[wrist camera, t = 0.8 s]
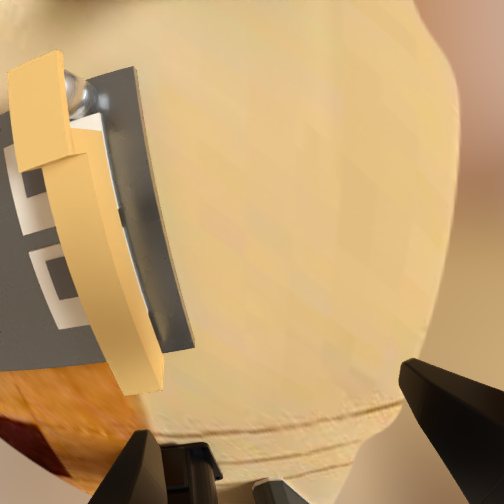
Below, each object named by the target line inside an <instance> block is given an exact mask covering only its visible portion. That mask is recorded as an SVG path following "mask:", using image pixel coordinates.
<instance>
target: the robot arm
mask: <svg viewBox="0 0 504 504" xmlns="http://www.w3.org/2000/svg"><path fill="white" fill-rule="evenodd" d="M399 386H400V389H401V391H402V393H403V394H404V396H405V398H406V400H407V402H408V404H409V406H410V408H411V410H412V412H413V414H414V416H415V418H416V420H417V422H418V424H419V425H420V427H421V428H422V430H423V431H424V433H425V434H426V436H427V437H428V439H429V440H430V442H431V443H432V445H433V446H434V448H435V450H436V451H437V453H438V454H439V456H440V457H441V459H442V460H443V462H444V464H445V465H446V467H447V468H448V470H449V471H450V473H451V474H452V476H453V478H454V479H455V481H456V483H457V484H458V486H459V487H460V489H461V491H462V492H463V494H464V495H465V497H466V499H467V500H468V502H469V504H504V391H501V390H499V389H496V388H493V387H490V386H488V385H485V384H482V383H479V382H477V381H474V380H471V379H468V378H465V377H463V376H460V375H458V374H455V373H452V372H449V371H447V370H444V369H442V368H439V367H436V366H434V365H430V364H428V363H426V362H423V361H420V360H418V359H416V358H411V359H409V360H406V361H404V362H402V364H401V368H400V374H399ZM221 479H223V474H222V472H221V470H220V468H219V466H218V464H217V462H216V460H215V458H214V456H213V453H212V451H211V449H210V447H209V445H208V444H207V443H197V444H190V445H182V446H174V447H165V448H160V446H159V444H158V443H157V441H156V439H155V438H154V436H153V435H152V433H151V432H150V431H149V430H147V429H145V430H137V431H135V432H134V433H133V435H132V436H131V438H130V439H129V441H128V442H127V444H126V446H125V447H124V449H123V450H122V452H121V453H120V455H119V456H118V458H117V459H116V461H115V462H114V464H113V466H112V467H111V469H110V470H109V472H108V473H107V475H106V476H105V478H104V479H103V481H102V482H101V484H100V485H99V487H98V489H97V490H96V492H95V493H94V495H93V496H92V498H91V499H90V501H89V502H88V504H218V499H217V493H216V486H215V481H216V480H221Z"/></svg>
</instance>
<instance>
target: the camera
mask: <svg viewBox="0 0 504 504" xmlns="http://www.w3.org/2000/svg"><path fill="white" fill-rule="evenodd" d="M252 491H253V494H254V498H255V501H256V504H311V503H310V502H308V501H307V500H306V499H305V498H304V497H303V496H301V495H300V494H299V493H298V492H297V491H296V490H295V489H293V488H292V487H291V486H290V485H289V484H288V483H287V482H286V481H285V480H283V479H282V478H281V477H268V478H265V479H262V480H259V481H256V482H255V483H254V484H253V486H252Z"/></svg>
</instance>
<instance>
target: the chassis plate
mask: <svg viewBox="0 0 504 504" xmlns="http://www.w3.org/2000/svg"><path fill="white" fill-rule="evenodd" d="M85 81H87V82H89V83H91V84H92V85H93V86H94V87H95V88H96V90H97V93H98V101H97V105H96V107H95V109H94V110H93V112H92V113H91V114H90V115H93V114H96V113H100V114H101V121H102V127H103V133H104V139H105V145H106V150H107V156H108V161H109V166H110V171H111V176H112V181H113V185H114V190H115V194H116V199H117V203H118V207H119V209H118V212H119V217H120V221H121V225H122V227H123V228H124V231H125V235H126V239H127V243H128V246H129V250H130V254H131V257H132V261H133V264H134V268H135V271H136V274H137V278H138V281H139V284H140V287H141V291H142V294H143V297H144V300H145V303H146V306H147V309H148V315H149V318H150V321H151V324H152V327H153V330H154V333H155V335H156V338H157V341H158V344H159V346H160V349H161V352H162V353H168V352H174V351H179V350H185V349H190V348H195V342H194V336H193V332H192V329H191V326H190V322H189V319H188V315H187V312H186V308H185V304H184V301H183V297H182V294H181V290H180V286H179V282H178V278H177V275H176V271H175V267H174V263H173V259H172V255H171V251H170V247H169V243H168V238H167V234H166V230H165V225H164V221H163V217H162V212H161V208H160V203H159V198H158V194H157V189H156V184H155V179H154V174H153V169H152V164H151V158H150V153H149V147H148V142H147V136H146V130H145V124H144V118H143V112H142V105H141V98H140V92H139V84H138V77H137V70H136V69H135V68H134V66H132V67H128V68H125V69H121V70H117V71H114V72H110V73H107V74H104V75H100V76H97V77H94V78H91V79H88V80H85ZM88 116H89V115H88ZM69 120H70V122H71V121H74V120H75V119H70V118H69ZM12 144H14V141H13V134H12V126H11V117H10V111H8V112H6V113H4V114H2V115H0V371H18V370H32V369H45V368H56V367H66V366H76V365H85V364H93V363H101V362H107V361H106V359H105V357H104V355H103V352H102V350H101V348H100V346H99V344H98V342H97V339H96V337H95V335H94V333H93V330H92V328H91V326H90V325H85V326H78V327H72V328H66V329H58V327H57V325H56V323H55V320H54V318H53V316H52V313H51V311H50V309H49V306H48V304H47V302H46V299H45V297H44V294H43V292H42V289H41V286H40V284H39V281H38V278H37V276H36V273H35V270H34V267H33V264H32V262H31V259H30V256H29V252H30V251H32V250H36V249H39V248H43V247H47V246H50V245H54V244H58V243H60V240H59V236H58V233H57V229H56V226H54V227H51V228H47V229H44V230H41V231H37V232H34V233H30V234H27V235H24V236H23V233H22V230H21V226H20V223H19V219H18V215H17V211H16V207H15V203H14V199H13V195H12V191H11V186H10V181H9V176H8V171H7V166H6V160H5V154H4V148H6V147H8V146H10V145H12Z"/></svg>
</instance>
